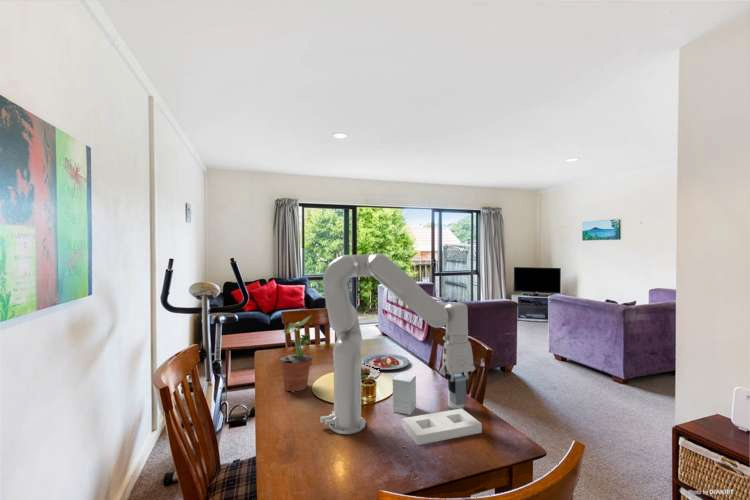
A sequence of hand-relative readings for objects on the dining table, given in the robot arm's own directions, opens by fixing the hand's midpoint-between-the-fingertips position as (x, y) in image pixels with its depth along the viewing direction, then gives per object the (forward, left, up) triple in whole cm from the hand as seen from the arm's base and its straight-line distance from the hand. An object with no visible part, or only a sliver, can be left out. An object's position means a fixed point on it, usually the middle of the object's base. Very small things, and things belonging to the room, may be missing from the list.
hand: (457, 390), depth 120 cm
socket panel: (-6, 0, -13) cm, 14 cm away
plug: (0, 0, -4) cm, 4 cm away
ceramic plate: (0, +71, -13) cm, 72 cm away
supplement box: (-12, +18, -13) cm, 26 cm away
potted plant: (-50, +54, -13) cm, 75 cm away
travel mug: (+8, +13, -13) cm, 20 cm away
